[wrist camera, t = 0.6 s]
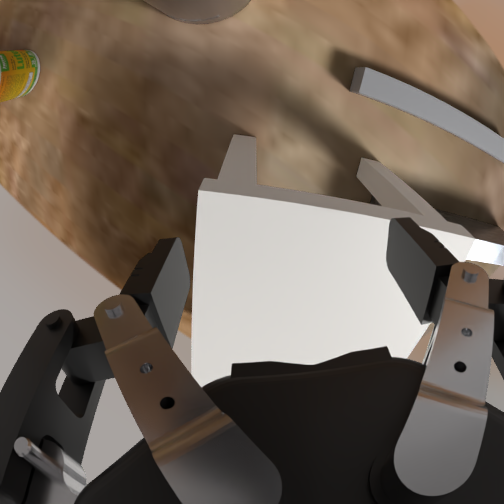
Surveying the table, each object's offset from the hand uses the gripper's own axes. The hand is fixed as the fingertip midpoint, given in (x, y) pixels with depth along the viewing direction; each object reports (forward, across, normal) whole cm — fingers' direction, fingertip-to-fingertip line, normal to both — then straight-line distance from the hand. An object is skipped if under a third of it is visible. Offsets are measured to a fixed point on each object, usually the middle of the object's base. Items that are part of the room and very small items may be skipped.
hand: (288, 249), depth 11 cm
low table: (+18, -1, +10) cm, 21 cm away
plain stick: (+18, -18, -4) cm, 25 cm away
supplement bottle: (+17, +24, -14) cm, 33 cm away
